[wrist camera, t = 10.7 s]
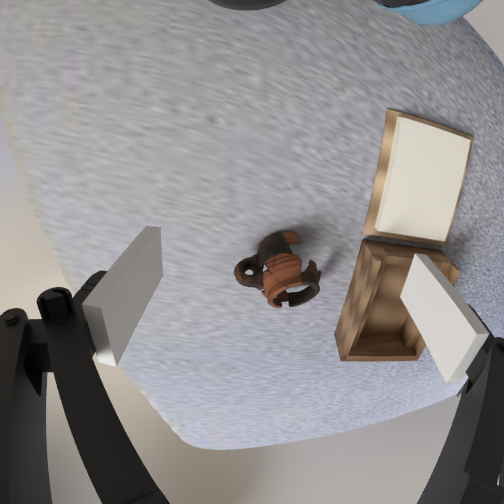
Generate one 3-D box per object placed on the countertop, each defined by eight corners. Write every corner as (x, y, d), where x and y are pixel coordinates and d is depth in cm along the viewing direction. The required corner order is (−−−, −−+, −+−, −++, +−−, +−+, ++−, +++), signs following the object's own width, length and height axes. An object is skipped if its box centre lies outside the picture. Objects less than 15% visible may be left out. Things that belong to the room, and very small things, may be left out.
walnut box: (362, 239, 43) (375, 260, 37) (441, 250, 43) (460, 270, 37) (334, 334, 51) (340, 361, 45) (406, 336, 51) (417, 360, 46)
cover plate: (397, 116, 35) (401, 117, 33) (465, 138, 35) (470, 140, 33) (374, 226, 42) (377, 230, 41) (440, 237, 42) (444, 241, 41)
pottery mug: (315, 225, 43) (335, 274, 38) (300, 263, 51) (315, 308, 46) (230, 231, 41) (241, 285, 36) (227, 271, 48) (236, 319, 44)
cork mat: (387, 108, 35) (387, 109, 34) (471, 136, 35) (472, 137, 34) (362, 233, 43) (363, 234, 42) (444, 245, 43) (445, 246, 43)
